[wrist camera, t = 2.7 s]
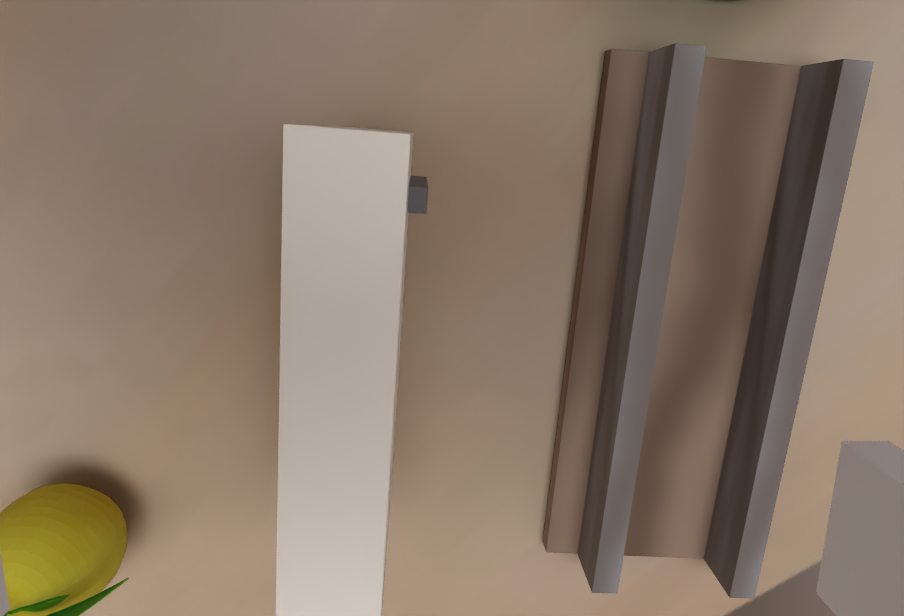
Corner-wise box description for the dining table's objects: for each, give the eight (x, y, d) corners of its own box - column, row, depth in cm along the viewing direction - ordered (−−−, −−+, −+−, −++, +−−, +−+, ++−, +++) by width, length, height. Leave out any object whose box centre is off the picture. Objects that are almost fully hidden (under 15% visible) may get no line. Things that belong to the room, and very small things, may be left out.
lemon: (185, 490, 33) (91, 636, 24) (130, 578, 35) (19, 752, 25) (58, 424, 32) (-95, 549, 23) (6, 517, 33) (-162, 675, 24)
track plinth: (542, 540, 35) (558, 591, 31) (605, 51, 29) (633, 39, 25) (747, 549, 36) (786, 599, 32) (849, 73, 30) (913, 65, 26)
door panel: (332, 459, 33) (274, 683, 20) (345, 126, 29) (283, 123, 16) (405, 463, 34) (396, 686, 20) (427, 133, 30) (435, 136, 16)
